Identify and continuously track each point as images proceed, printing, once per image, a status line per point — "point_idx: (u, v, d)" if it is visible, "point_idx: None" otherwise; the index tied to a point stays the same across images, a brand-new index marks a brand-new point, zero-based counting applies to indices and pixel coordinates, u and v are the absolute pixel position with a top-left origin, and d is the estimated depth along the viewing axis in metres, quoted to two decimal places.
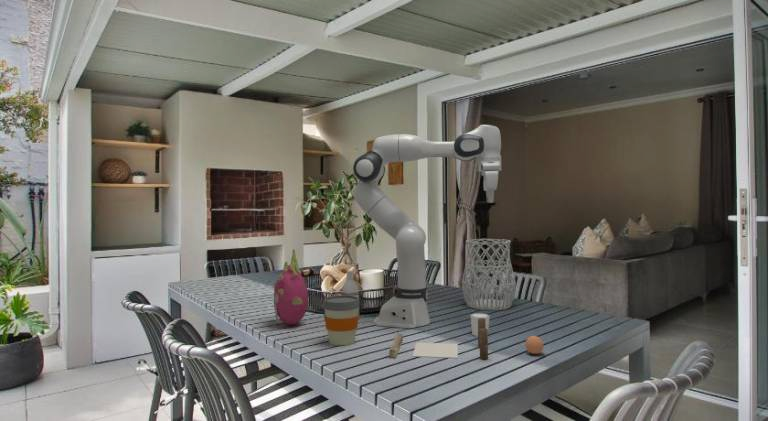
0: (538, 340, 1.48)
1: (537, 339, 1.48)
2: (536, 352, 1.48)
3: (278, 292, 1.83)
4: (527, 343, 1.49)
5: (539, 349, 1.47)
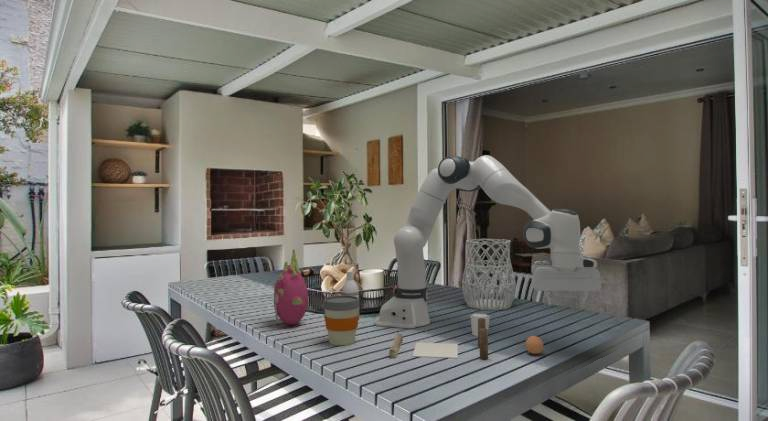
0: (538, 340, 1.48)
1: (537, 339, 1.48)
2: (536, 352, 1.48)
3: (278, 292, 1.83)
4: (527, 343, 1.49)
5: (539, 349, 1.47)
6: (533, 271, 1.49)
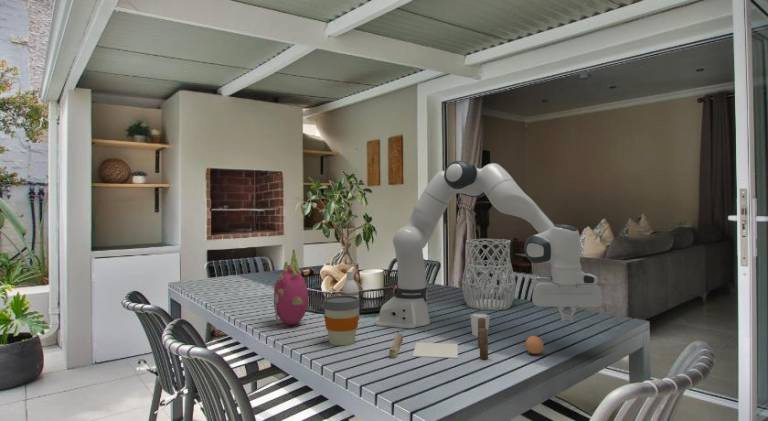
0: (538, 340, 1.48)
1: (537, 339, 1.48)
2: (536, 352, 1.48)
3: (278, 292, 1.83)
4: (527, 343, 1.49)
5: (539, 349, 1.47)
6: (534, 287, 1.49)
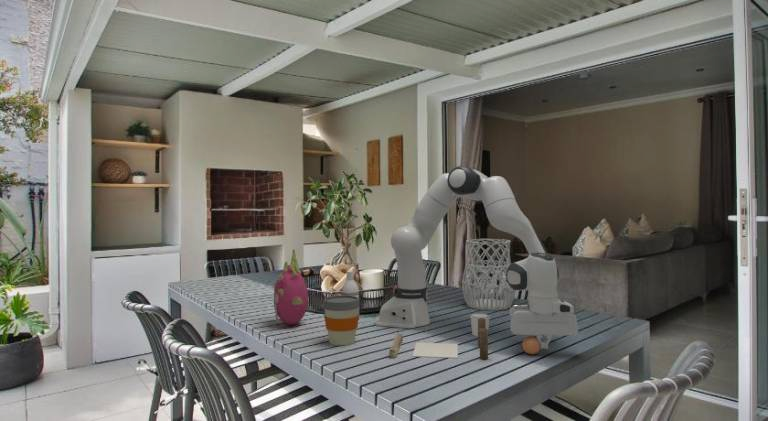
0: (532, 340, 1.48)
1: (531, 339, 1.48)
2: (535, 352, 1.48)
3: (278, 292, 1.83)
4: (523, 346, 1.49)
5: (537, 348, 1.47)
6: (511, 315, 1.50)
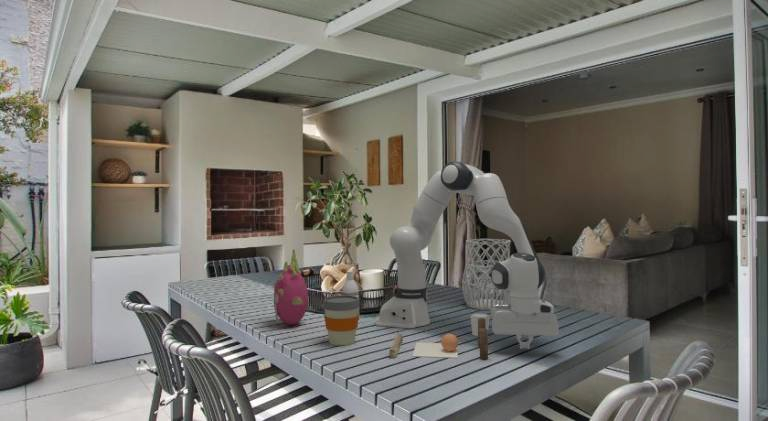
0: (444, 348, 1.52)
1: None
2: (451, 339, 1.51)
3: (278, 292, 1.83)
4: None
5: (447, 340, 1.51)
6: (492, 314, 1.51)
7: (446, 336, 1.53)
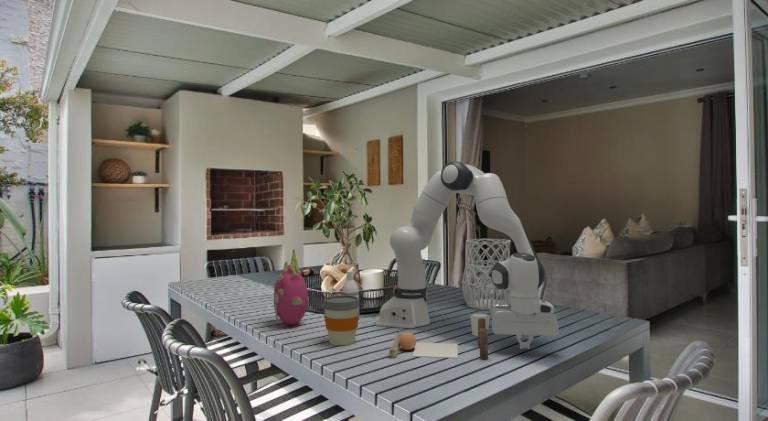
0: (401, 338, 1.54)
1: (400, 339, 1.55)
2: (412, 343, 1.53)
3: (278, 292, 1.83)
4: (404, 348, 1.55)
5: (409, 340, 1.53)
6: (492, 314, 1.51)
7: (413, 337, 1.54)
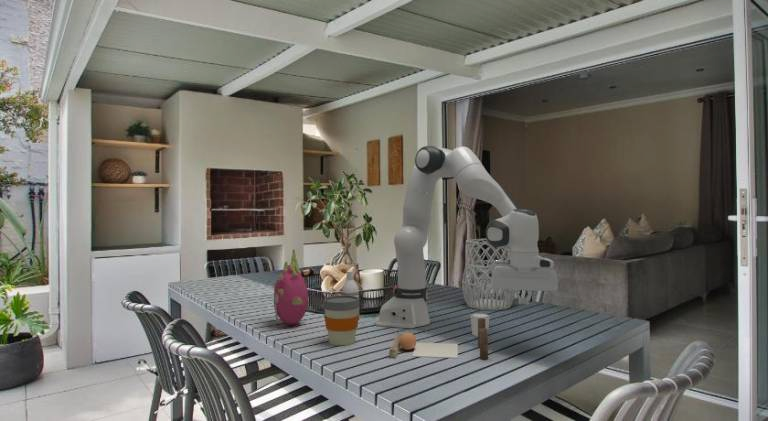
0: (401, 338, 1.54)
1: (400, 339, 1.55)
2: (412, 343, 1.53)
3: (278, 292, 1.83)
4: (404, 348, 1.55)
5: (409, 340, 1.53)
6: (492, 270, 1.51)
7: (413, 337, 1.54)
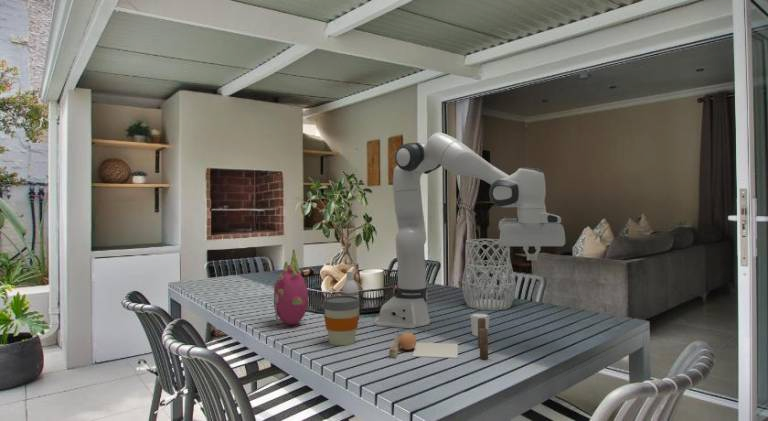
0: (401, 338, 1.54)
1: (400, 339, 1.55)
2: (412, 343, 1.53)
3: (278, 292, 1.83)
4: (404, 348, 1.55)
5: (409, 340, 1.53)
6: (500, 227, 1.54)
7: (413, 337, 1.54)
